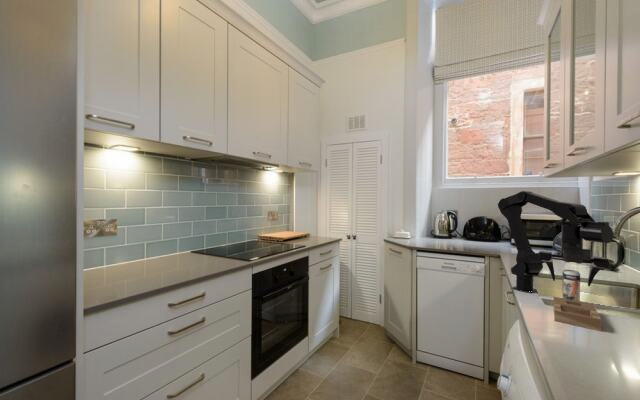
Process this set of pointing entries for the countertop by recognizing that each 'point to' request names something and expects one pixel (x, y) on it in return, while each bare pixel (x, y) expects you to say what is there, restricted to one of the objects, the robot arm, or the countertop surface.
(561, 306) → the socket board
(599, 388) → the countertop surface
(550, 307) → the countertop surface
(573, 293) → the beer can
